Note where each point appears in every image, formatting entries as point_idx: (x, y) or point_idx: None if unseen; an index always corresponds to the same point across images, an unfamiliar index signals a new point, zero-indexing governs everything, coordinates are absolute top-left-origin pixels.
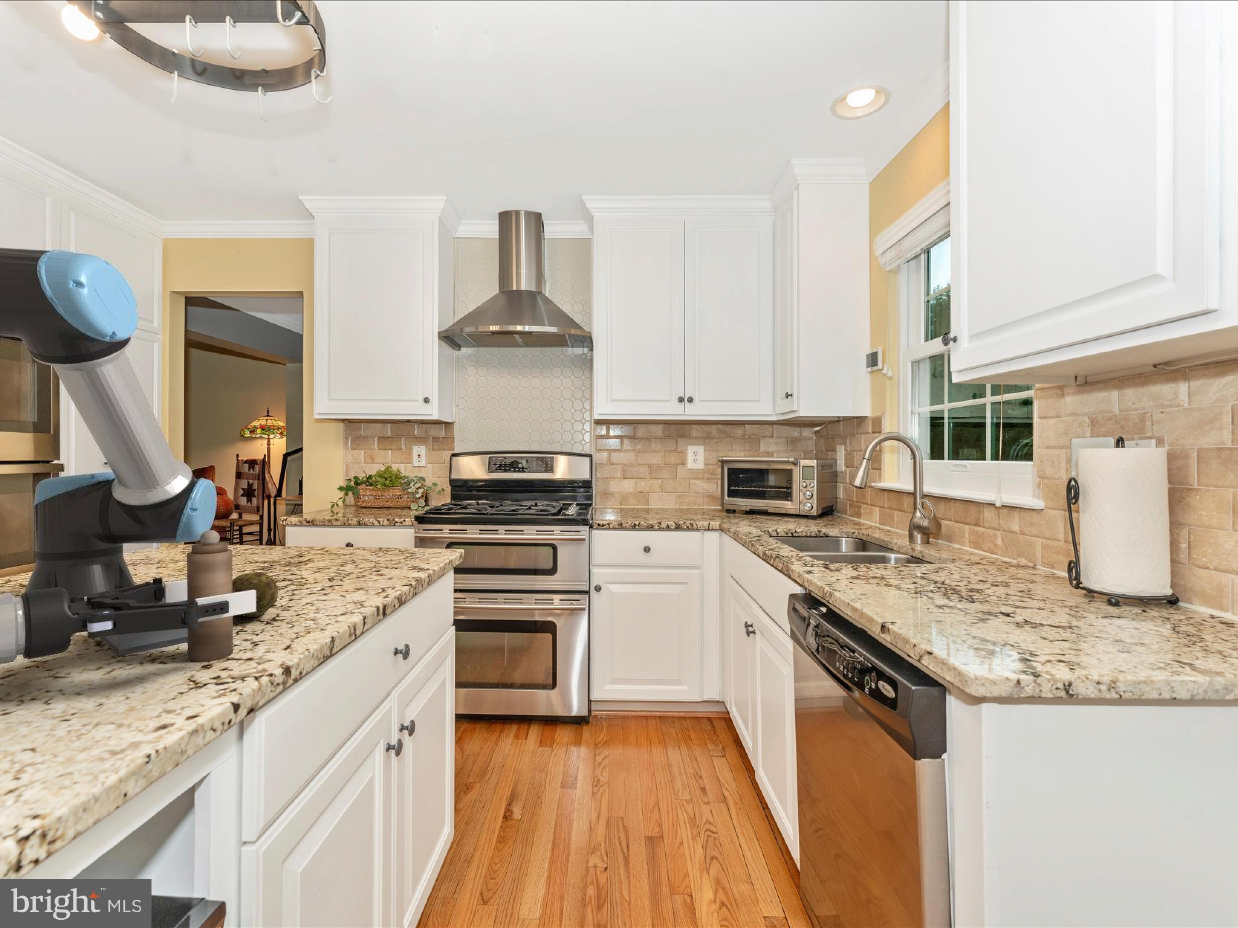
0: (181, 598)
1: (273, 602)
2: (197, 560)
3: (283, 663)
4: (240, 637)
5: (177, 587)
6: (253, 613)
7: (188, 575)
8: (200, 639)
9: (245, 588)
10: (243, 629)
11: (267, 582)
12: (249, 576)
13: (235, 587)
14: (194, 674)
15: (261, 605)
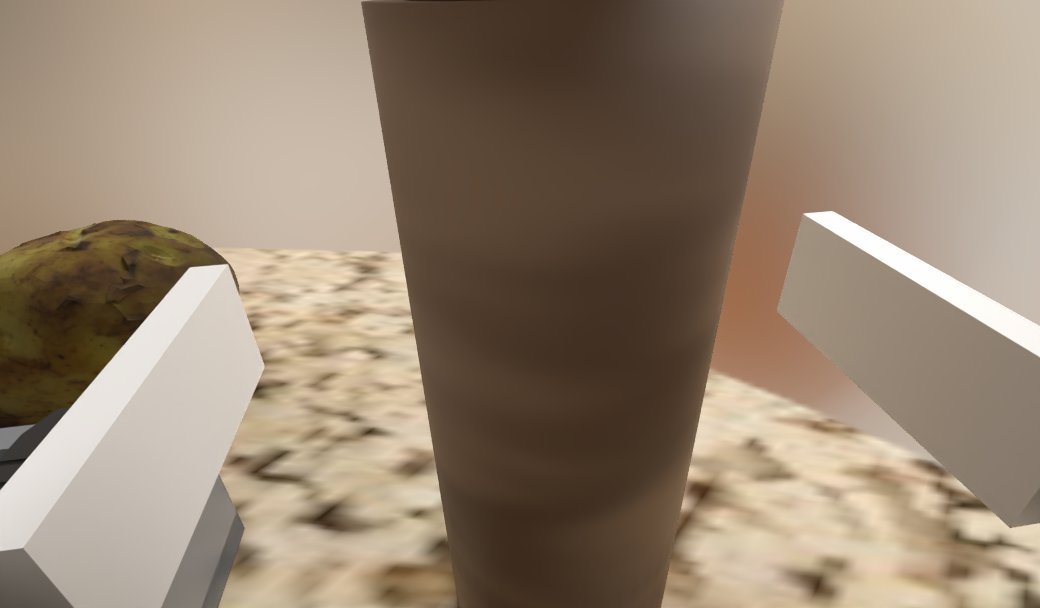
0: (180, 537)
1: None
2: (756, 70)
3: (806, 423)
4: (357, 478)
5: (115, 492)
6: None
7: (627, 282)
8: (661, 597)
9: None
10: (246, 456)
11: (208, 247)
12: (115, 248)
13: (99, 322)
14: None
15: None
